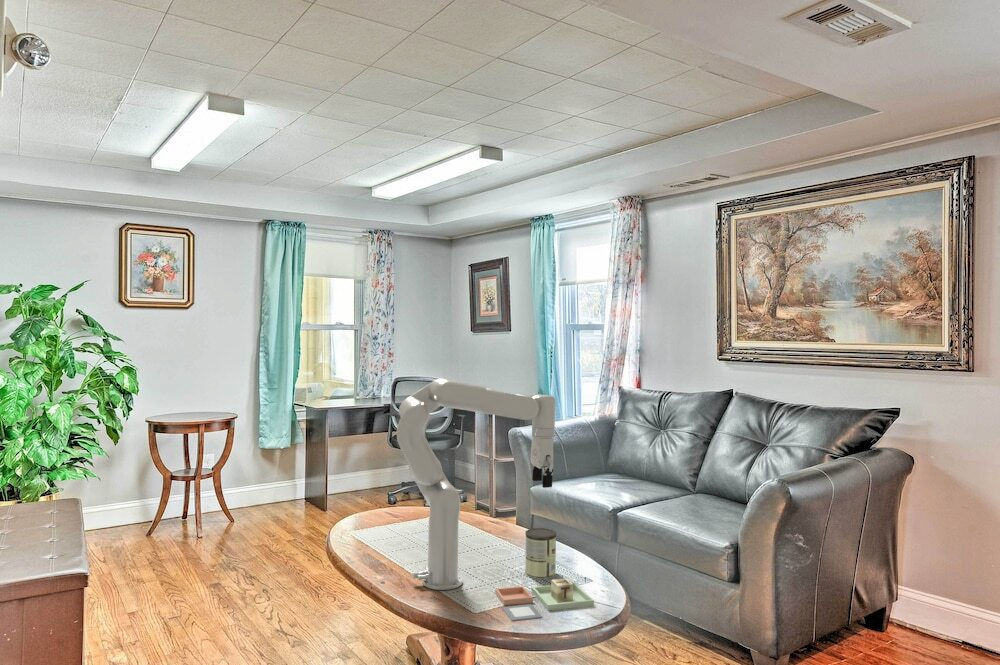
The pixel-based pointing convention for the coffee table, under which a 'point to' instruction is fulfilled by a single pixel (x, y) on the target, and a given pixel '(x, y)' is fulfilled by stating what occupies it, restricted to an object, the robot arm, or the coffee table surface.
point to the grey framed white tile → (522, 612)
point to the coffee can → (540, 553)
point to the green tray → (550, 604)
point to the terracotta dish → (513, 595)
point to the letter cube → (561, 590)
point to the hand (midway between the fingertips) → (542, 483)
